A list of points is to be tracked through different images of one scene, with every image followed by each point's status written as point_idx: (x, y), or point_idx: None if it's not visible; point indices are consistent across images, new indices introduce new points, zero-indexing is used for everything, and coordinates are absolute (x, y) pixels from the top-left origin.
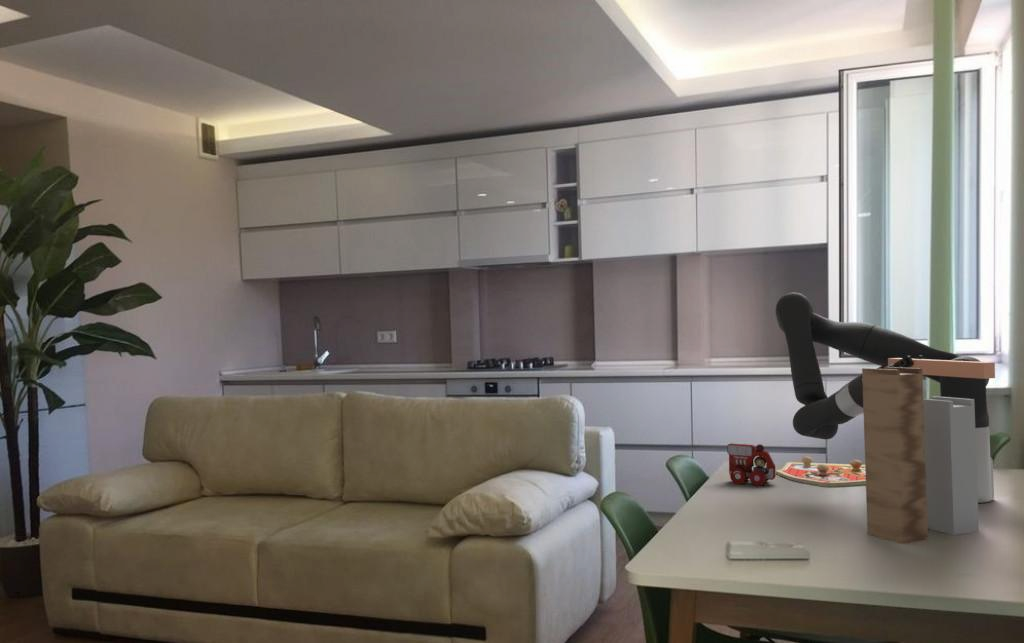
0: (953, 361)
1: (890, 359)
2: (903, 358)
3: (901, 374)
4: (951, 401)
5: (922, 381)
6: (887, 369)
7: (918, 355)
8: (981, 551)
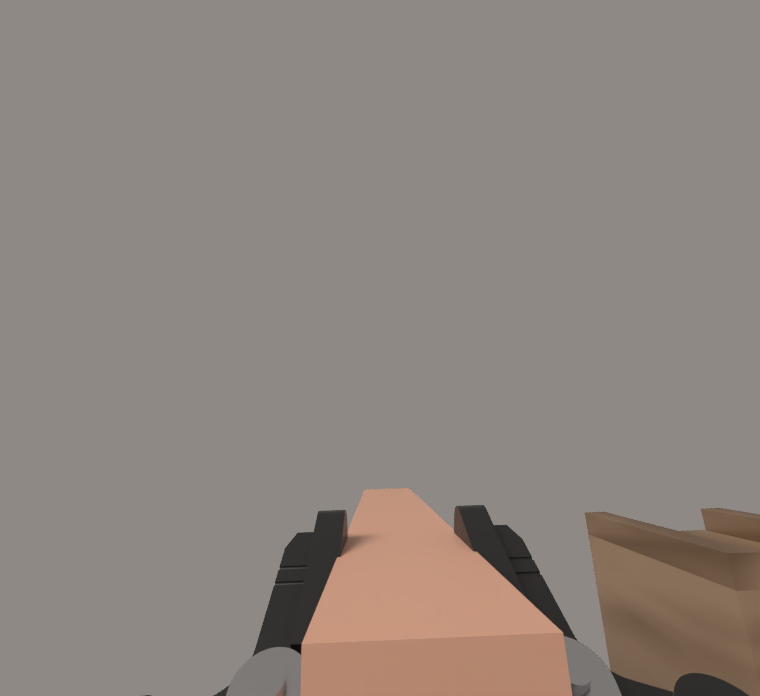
0: (416, 497)
1: (541, 628)
2: (495, 535)
3: (692, 534)
4: None
5: (595, 568)
6: (755, 515)
7: (345, 512)
8: None
